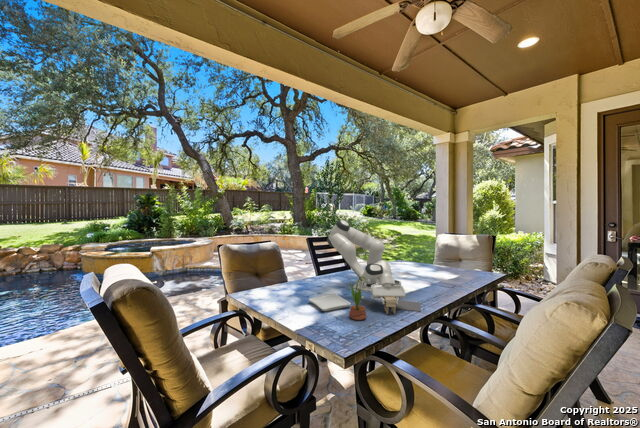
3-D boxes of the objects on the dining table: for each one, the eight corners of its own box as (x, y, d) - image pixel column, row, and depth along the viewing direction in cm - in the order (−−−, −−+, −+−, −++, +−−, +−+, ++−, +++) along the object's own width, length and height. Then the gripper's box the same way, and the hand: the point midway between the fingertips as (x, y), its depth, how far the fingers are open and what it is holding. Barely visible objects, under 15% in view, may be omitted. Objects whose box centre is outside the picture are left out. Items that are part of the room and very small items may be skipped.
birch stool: (383, 310, 174) (383, 295, 174) (393, 310, 174) (394, 296, 174) (385, 314, 168) (386, 299, 168) (396, 314, 168) (396, 299, 168)
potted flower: (371, 316, 166) (371, 273, 165) (368, 322, 156) (369, 277, 155) (351, 313, 170) (351, 272, 169) (347, 319, 160) (347, 275, 159)
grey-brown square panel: (393, 308, 178) (394, 307, 178) (395, 300, 193) (395, 299, 193) (420, 312, 173) (420, 311, 173) (420, 303, 188) (420, 302, 188)
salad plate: (322, 314, 169) (322, 308, 169) (307, 303, 188) (307, 298, 187) (352, 308, 179) (352, 303, 179) (335, 298, 197) (335, 293, 197)
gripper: (371, 281, 178) (373, 302, 168) (403, 281, 178) (408, 302, 168) (369, 286, 182) (372, 306, 173) (401, 286, 182) (405, 307, 173)
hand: (390, 304), depth 170 cm, fingers closed on birch stool, 6 cm apart
